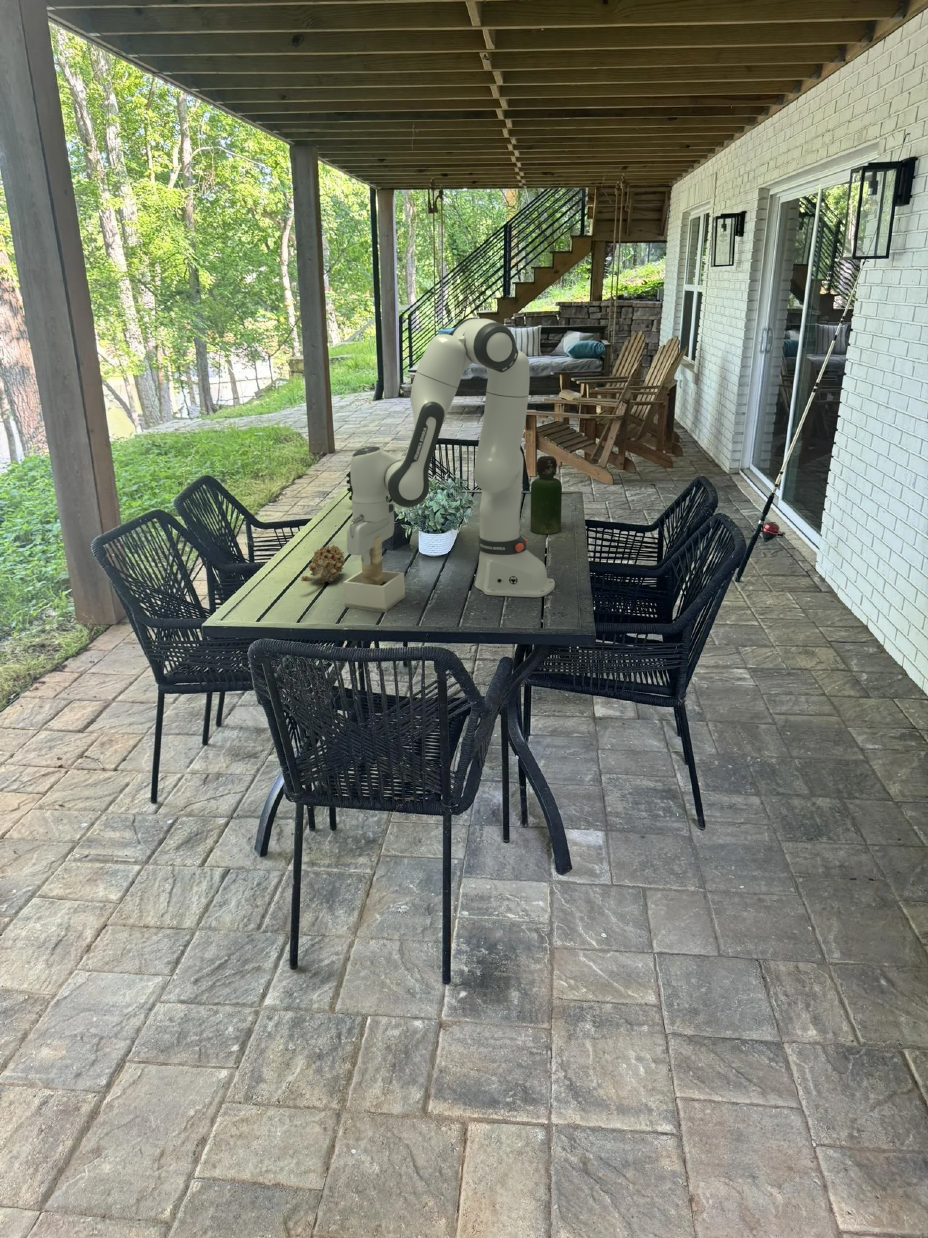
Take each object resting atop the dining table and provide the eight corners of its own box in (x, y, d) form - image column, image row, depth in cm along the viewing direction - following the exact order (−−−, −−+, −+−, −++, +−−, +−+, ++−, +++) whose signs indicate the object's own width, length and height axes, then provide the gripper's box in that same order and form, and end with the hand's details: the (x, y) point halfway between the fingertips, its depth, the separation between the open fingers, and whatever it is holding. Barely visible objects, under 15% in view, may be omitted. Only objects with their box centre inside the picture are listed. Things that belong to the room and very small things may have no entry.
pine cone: (321, 571, 258) (318, 539, 254) (352, 573, 256) (349, 540, 252) (292, 596, 238) (288, 562, 234) (324, 598, 236) (321, 564, 232)
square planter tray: (405, 597, 235) (404, 572, 233) (385, 612, 225) (383, 587, 223) (366, 592, 240) (364, 568, 237) (344, 607, 229) (343, 582, 227)
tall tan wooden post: (383, 582, 231) (380, 535, 226) (377, 586, 228) (375, 538, 223) (368, 580, 232) (365, 534, 228) (362, 584, 230) (360, 537, 225)
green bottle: (524, 530, 294) (524, 457, 285) (545, 524, 301) (546, 453, 291) (545, 536, 287) (547, 461, 278) (567, 530, 293) (569, 457, 284)
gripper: (361, 522, 213) (364, 575, 218) (397, 502, 230) (399, 552, 236) (338, 519, 215) (342, 572, 220) (376, 500, 233) (378, 549, 238)
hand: (372, 561), depth 228 cm, fingers closed on tall tan wooden post, 3 cm apart
